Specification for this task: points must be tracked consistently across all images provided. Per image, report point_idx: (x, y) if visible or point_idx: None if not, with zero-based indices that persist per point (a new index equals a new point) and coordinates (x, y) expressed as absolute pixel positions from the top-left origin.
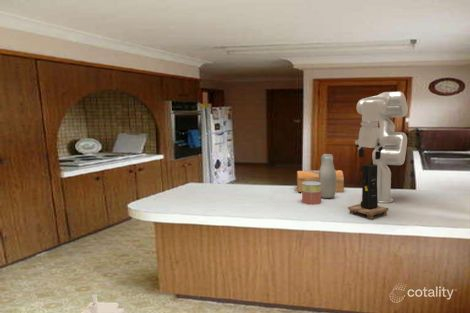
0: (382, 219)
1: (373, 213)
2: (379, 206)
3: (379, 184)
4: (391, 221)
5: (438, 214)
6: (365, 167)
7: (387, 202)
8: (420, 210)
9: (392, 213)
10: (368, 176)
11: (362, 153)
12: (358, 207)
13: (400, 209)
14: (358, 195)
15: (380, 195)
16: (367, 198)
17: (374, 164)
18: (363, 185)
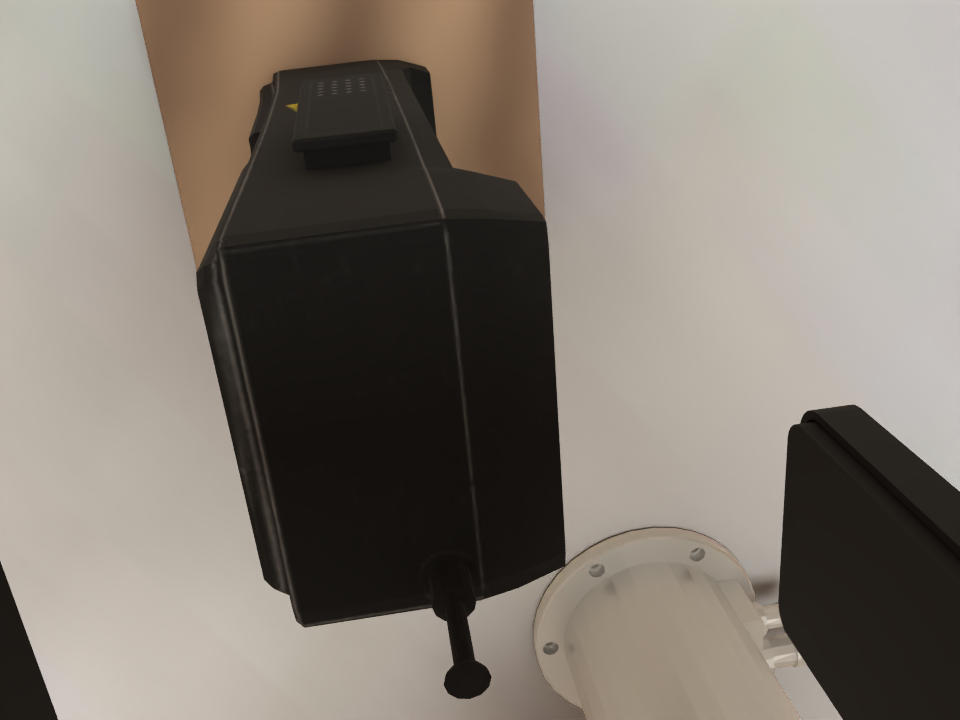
0: (116, 110)
1: (139, 6)
2: None
3: (681, 706)
4: (8, 141)
5: None
6: (357, 211)
7: (542, 602)
8: (189, 663)
9: None
10: (255, 163)
11: (856, 645)
12: (429, 25)
13: None
14: None
15: (624, 613)
16: (299, 86)
17: (371, 597)
18: (390, 106)
